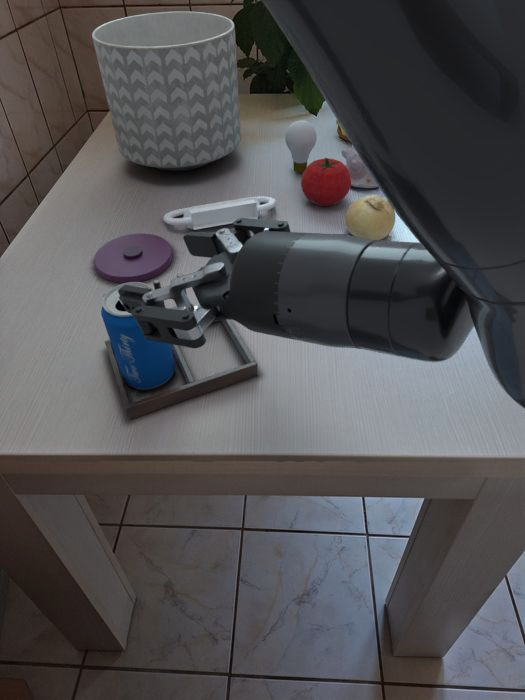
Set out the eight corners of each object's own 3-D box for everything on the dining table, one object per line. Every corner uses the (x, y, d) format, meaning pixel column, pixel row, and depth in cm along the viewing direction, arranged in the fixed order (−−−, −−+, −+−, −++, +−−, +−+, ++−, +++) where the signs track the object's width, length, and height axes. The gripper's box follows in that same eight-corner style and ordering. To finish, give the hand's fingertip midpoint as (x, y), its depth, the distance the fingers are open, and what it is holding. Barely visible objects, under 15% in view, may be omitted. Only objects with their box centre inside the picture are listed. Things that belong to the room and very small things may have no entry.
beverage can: (114, 388, 60) (86, 313, 52) (136, 351, 64) (114, 276, 56) (164, 397, 59) (144, 321, 50) (183, 358, 63) (168, 283, 55)
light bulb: (293, 164, 102) (294, 113, 94) (319, 170, 99) (322, 118, 92) (279, 176, 98) (279, 124, 91) (306, 182, 96) (308, 129, 89)
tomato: (324, 218, 86) (327, 174, 80) (290, 200, 91) (291, 157, 85) (359, 201, 90) (364, 158, 84) (325, 184, 95) (327, 143, 89)
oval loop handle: (270, 206, 93) (268, 185, 91) (282, 217, 86) (281, 195, 84) (163, 224, 89) (159, 203, 87) (168, 237, 82) (163, 214, 80)
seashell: (326, 177, 97) (329, 128, 90) (366, 158, 102) (372, 111, 96) (366, 195, 92) (373, 144, 85) (406, 174, 97) (415, 125, 90)
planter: (228, 190, 94) (217, 48, 78) (104, 184, 98) (67, 46, 81) (251, 137, 112) (246, 11, 95) (145, 133, 115) (121, 11, 98)
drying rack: (129, 419, 57) (109, 365, 50) (108, 351, 65) (89, 297, 58) (258, 375, 61) (255, 320, 54) (223, 316, 69) (217, 262, 62)
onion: (334, 235, 82) (337, 195, 77) (363, 216, 86) (368, 178, 81) (373, 253, 78) (379, 213, 73) (402, 233, 82) (410, 194, 77)
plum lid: (104, 291, 74) (101, 282, 72) (90, 250, 81) (87, 241, 80) (181, 270, 77) (180, 260, 75) (161, 232, 85) (159, 223, 83)
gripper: (349, 189, 36) (192, 191, 46) (237, 306, 28) (76, 279, 38) (365, 275, 41) (219, 261, 50) (272, 396, 33) (121, 352, 43)
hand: (158, 269), depth 44 cm, fingers open, 8 cm apart
